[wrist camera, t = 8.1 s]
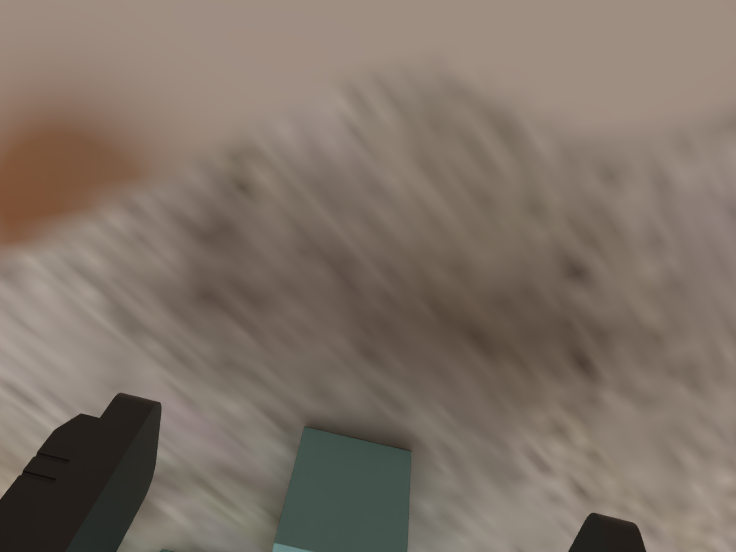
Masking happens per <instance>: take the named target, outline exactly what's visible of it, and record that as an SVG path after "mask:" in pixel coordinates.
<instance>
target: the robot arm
mask: <svg viewBox="0 0 736 552" xmlns="http://www.w3.org/2000/svg"><path fill="white" fill-rule="evenodd" d="M160 419H161V403H160V402H156V401H152V400H148V399H144V398H140V397H136V396H132V395H128V394H124V393H119V394H117V395H116V396H115V397H114V399H113V400H112V402H111V403H110V404H109V406H108V407H107V409H106V410H105V411H104V413H103V414H102V416H101V417H100V418H97V417H93V416H89V415H85V414H79V415H78V416H76V417H75V418H73V419H71V420H70V421H68V422H66V423H65V424H63V425H62V426H60V427H58V428H57V429H55V430H54V431H53V433H52V434H51V435H50V436H49V438H48V439H47V440H46V442H45V443H44V444H43V445H42V447H41V448H40V449H39V451H38V452H37V455H36V457H33V458H32V459H31V461H30V462H29V463H28V465H27V466H26V467H25V468H24V470H23V473H22V475H21V476H20V475H19V476H18V477H17V479H16V480H15V481H14V483H13V484H12V485H11V486H10V488H9V489H8V490H7V492H6V493H5V494H4V495H3V497H2V498H1V499H0V552H116V551H117V549H118V547H119V545H120V544H121V542H122V540H123V538H124V536H125V534H126V532H127V530H128V529H129V527H130V525H131V523H132V521H133V519H134V517H135V515H136V513H137V512H138V510H139V508H140V506H141V504H142V502H143V500H144V498H145V496H146V494H147V492H148V489H149V487H150V484H151V481H152V478H153V474H154V470H155V465H156V457H157V447H158V438H159V429H160ZM568 552H646V550H645V547H644V543H643V540H642V537H641V534H640V531H639V529H638V527H637V525H636V524H635V523H633V522H629V521H625V520H621V519H617V518H613V517H609V516H605V515H601V514H597V513H591V514H590V515H589V516H588V517H587V518H586V520H585V522H584V524H583V525H582V527H581V529H580V531H579V533H578V535H577V537H576V538H575V540H574V542H573V544H572V546H571V548H570V549H569V551H568Z"/></svg>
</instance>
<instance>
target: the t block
mask: <svg viewBox="0 0 736 552" xmlns="http://www.w3.org/2000/svg"><path fill="white" fill-rule="evenodd" d="M410 469H411V451H407V450H403V449H399V448H394V447H390V446H386V445H381V444H377V443H373V442H368V441H364V440H360V439H355V438H351V437H347V436H342V435H338V434H334V433H329V432H325V431H321V430H316V429H312V428H308V427H304V430H303V434H302V438H301V442H300V446H299V450H298V453H297V457H296V461H295V465H294V469H293V473H292V476H291V480H290V484H289V488H288V492H287V496H286V499H285V503H284V507H283V511H282V515H281V519H280V523H279V526H278V530H277V534H276V538H275V542H274V546H273V550H272V552H407V544H408V519H409V494H410ZM160 552H172V551H167V550H163V549H161V551H160Z"/></svg>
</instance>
